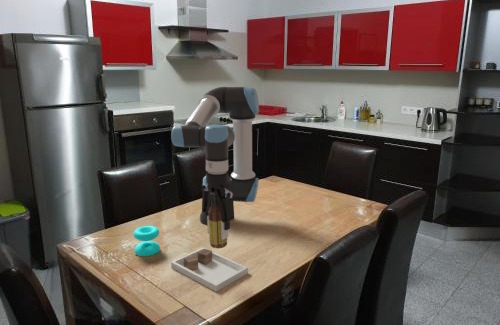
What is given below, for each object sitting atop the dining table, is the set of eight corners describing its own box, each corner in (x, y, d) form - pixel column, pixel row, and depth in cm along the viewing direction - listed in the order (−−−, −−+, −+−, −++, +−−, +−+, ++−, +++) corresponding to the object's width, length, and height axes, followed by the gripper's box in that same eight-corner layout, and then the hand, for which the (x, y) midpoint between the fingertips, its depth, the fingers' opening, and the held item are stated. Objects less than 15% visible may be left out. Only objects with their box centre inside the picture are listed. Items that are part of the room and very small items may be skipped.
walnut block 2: (197, 262, 149) (197, 252, 148) (204, 257, 152) (203, 248, 151) (206, 264, 147) (205, 255, 146) (212, 260, 150) (212, 251, 149)
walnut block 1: (183, 267, 145) (183, 257, 144) (193, 264, 147) (193, 254, 146) (188, 272, 142) (188, 262, 141) (198, 269, 144) (198, 259, 143)
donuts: (160, 232, 153) (134, 236, 150) (161, 255, 155) (136, 260, 152) (157, 223, 162) (132, 226, 159) (158, 245, 164) (133, 248, 161)
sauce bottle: (227, 241, 140) (227, 188, 135) (227, 249, 134) (227, 194, 129) (209, 241, 140) (208, 188, 135) (208, 249, 134) (207, 194, 129)
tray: (171, 269, 145) (171, 262, 145) (203, 254, 157) (203, 247, 156) (216, 293, 130) (216, 285, 129) (247, 275, 142) (247, 267, 141)
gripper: (189, 168, 134) (191, 230, 140) (229, 179, 122) (230, 247, 127) (205, 164, 139) (207, 224, 145) (245, 174, 127) (245, 239, 133)
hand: (217, 234), depth 136 cm, fingers closed on sauce bottle, 6 cm apart
